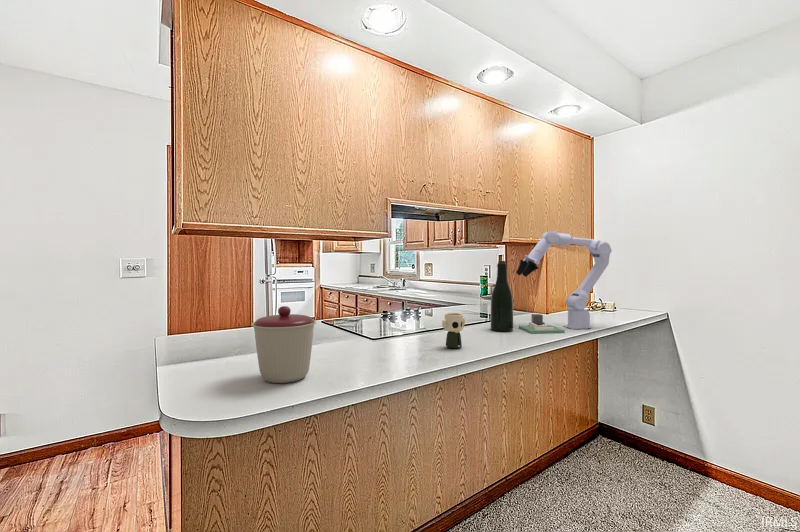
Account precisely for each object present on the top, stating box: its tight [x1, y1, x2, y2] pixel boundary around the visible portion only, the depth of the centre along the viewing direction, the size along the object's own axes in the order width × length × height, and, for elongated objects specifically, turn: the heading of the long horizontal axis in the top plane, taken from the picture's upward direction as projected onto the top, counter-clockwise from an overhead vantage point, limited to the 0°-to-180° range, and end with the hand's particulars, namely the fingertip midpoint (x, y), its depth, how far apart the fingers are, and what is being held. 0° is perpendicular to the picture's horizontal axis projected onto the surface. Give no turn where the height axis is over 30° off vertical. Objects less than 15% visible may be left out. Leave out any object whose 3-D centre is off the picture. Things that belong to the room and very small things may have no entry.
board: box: [518, 321, 566, 335], centre depth 193 cm, size 16×14×4 cm
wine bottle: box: [489, 260, 514, 333], centre depth 194 cm, size 10×10×33 cm
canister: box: [251, 305, 317, 384], centre depth 119 cm, size 18×18×21 cm
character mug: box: [441, 312, 466, 349], centre depth 158 cm, size 11×7×13 cm, turn 122°
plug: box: [530, 313, 546, 325], centre depth 204 cm, size 6×4×6 cm, turn 96°
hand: (520, 274), depth 199 cm, fingers open, 7 cm apart
